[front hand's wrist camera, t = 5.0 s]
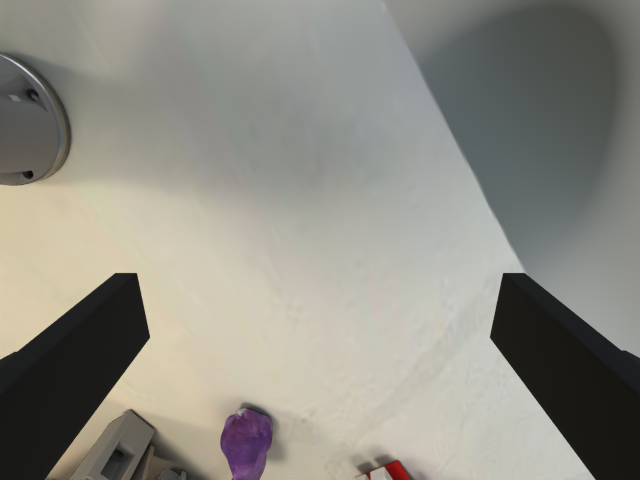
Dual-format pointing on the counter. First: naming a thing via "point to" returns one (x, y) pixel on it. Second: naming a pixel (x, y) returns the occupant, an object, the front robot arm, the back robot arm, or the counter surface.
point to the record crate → (122, 453)
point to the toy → (386, 473)
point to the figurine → (246, 443)
